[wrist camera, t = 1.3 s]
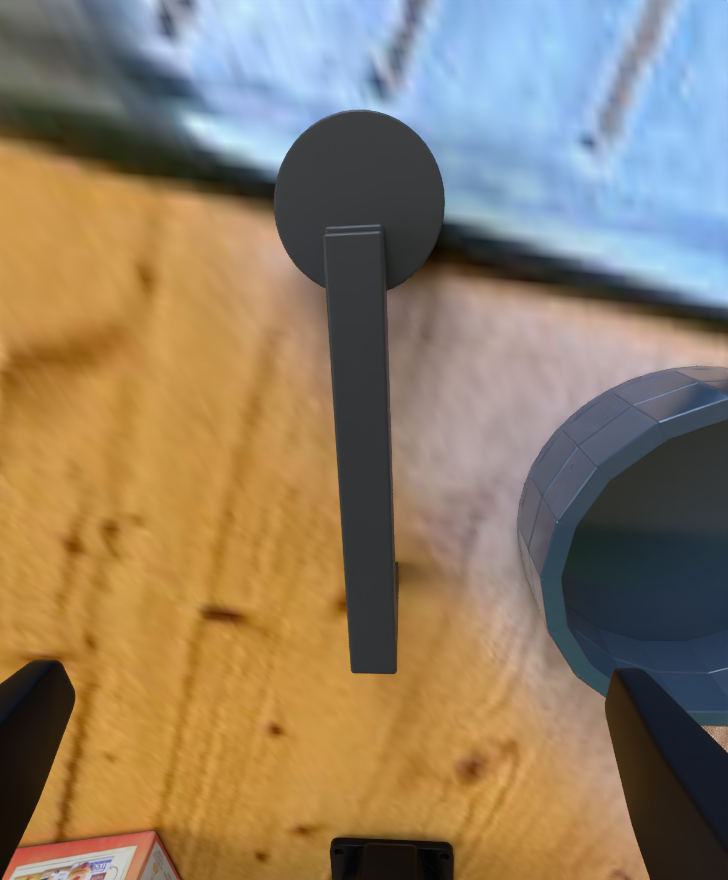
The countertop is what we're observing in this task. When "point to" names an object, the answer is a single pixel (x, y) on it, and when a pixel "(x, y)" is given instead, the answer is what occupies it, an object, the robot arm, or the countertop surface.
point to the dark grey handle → (362, 326)
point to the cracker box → (95, 860)
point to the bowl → (638, 536)
